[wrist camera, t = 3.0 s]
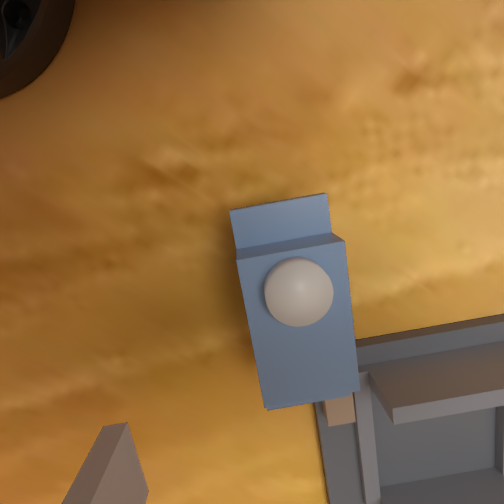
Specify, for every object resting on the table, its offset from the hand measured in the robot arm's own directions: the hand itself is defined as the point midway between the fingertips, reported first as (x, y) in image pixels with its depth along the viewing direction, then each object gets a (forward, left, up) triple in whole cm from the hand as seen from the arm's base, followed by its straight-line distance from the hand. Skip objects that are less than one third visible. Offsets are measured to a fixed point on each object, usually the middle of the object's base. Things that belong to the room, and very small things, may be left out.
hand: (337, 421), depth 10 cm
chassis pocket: (+10, -14, -14) cm, 22 cm away
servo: (0, 0, -14) cm, 14 cm away
